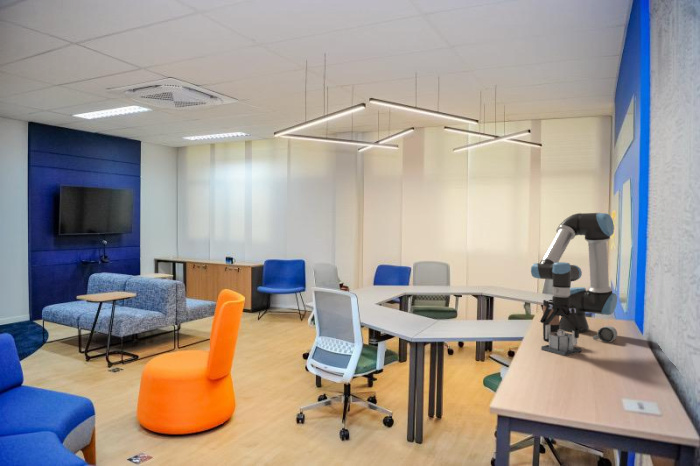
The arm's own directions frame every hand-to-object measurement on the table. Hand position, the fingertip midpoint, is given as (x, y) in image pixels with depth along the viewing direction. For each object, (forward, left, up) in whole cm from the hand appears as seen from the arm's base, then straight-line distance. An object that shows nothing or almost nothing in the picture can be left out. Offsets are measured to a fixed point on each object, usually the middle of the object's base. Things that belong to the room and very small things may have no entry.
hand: (560, 341), depth 217 cm
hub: (0, 0, -3) cm, 3 cm away
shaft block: (0, 0, -4) cm, 4 cm away
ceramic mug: (-35, +1, -4) cm, 35 cm away
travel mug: (-13, -14, -4) cm, 20 cm away
